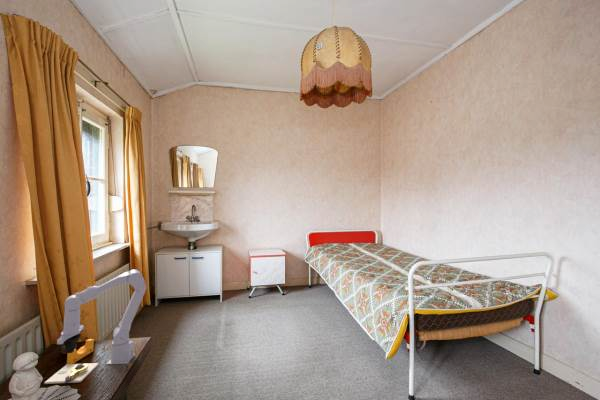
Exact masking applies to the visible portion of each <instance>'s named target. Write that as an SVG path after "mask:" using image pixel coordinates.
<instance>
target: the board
mask: <svg viewBox="0 0 600 400" xmlns="http://www.w3.org/2000/svg"><path fill="white" fill-rule="evenodd" d="M83 364H84V363H73V364H67V363H66V364H65V365H64V366H63V367H62V368H61V369H59V370H58V371H57V372H55V373H54V374H53V375H52V376H50V377H49V378H48V379H47V380H46V381H44V385H48V384H49V385H50V384H53V385H54V384H66V383H65V378H66V377H67V376H69V375H70V374H71V369H72V368H73V367H74V366H76V365H77V370H78V369H82V368H83ZM86 364H88V369H87V370H86V371H85V372H84V373H81V374H78V375H76V376H75V377H74V378H73V379H72V381H70V382H68V383H67V384H70V383H71V384H72V383H73V384H74V383H82V382H83V380H85V379H86V378H87V377H88V376H89V375H90V374H91V373H93V371H94V370H95V369H96V368H97V367H98V366H99V365H100V363H99V362H93V363H91V362H89V363H86Z"/></svg>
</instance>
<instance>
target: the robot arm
mask: <svg viewBox="0 0 600 400" xmlns="http://www.w3.org/2000/svg"><path fill="white" fill-rule="evenodd" d="M128 284H129V285H130V286H132V287H133V289H134V291H133V293H132V295H131V297H130V300H129V302H128V305H127V307H126V309H125V312H124V314H123V316H122V318H121V320H120V321H119V323H118V325H117V326H115V328H114V329H113V331H112V335H113V340H112V342H111V348H110V349H111V352H110V359H109V360H108V361H107V362H106V365H125V364H126V365H127V364H129V362H130V361H131V360H132V359H133V358H134V357H135V356H136V355H135V348H136V345H135V341H134V340H130V331H131V327H132V323H133V322H134V318H135V316H136V313H137V311H138V310H139V307H140V304H141V302H142V300H143V297H144V296H145V293H146V290H147V286H146V282H145V278H144V277H143V274H142V273H141V272H140V270H138V269H134V268H133V269H131V270H129V271H125V272H122V274H121V273H120V274H119V275H117V276H116V277H114V278H113V277H112V279H110V280H108V281H106V282H103V284H100V285H93V286H91V285H90V286H87V288H86V289H84V290H82V291H80V292H78V291H77V292H76V293H74V294H72V295H69V296H68V297H67V298H66V299H65V301H64V314H63V315H64V316H63V323H64V329H63V328H62V331H61V333H60V337H59V338H58V339H57V340H56V341H57V342H56V345H62V344H64V346H65V348H66V352H67V353H66V354H68V353H72V352H74V349H75V346H76V343H77V344H78V340H79V339H80V337H81V336H82V334H81V333H80V332H82V331H83V330H85V325H84V324H81V305H84V304H85V305H86V304H87V303H88V302H90V301H92V300H94V299H96V298H99V297H100V296H101V294H102V293H103V292H105V291H107V290H110V289H112V288H115V287H116V286H119V285H128Z"/></svg>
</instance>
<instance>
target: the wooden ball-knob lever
mask: <svg viewBox="0 0 600 400" xmlns="http://www.w3.org/2000/svg"><path fill="white" fill-rule="evenodd" d="M82 364H83V368H82V369H78V370H77V365H76V366H74V367H73V368H72V369H71V374H70V375H69V376H67V377H66V378H65V383H64V384H69V383H68V382H70V381H72V379H73V378H74V377H75V376H76V375H78V374H81V373H84V372H85V371H86V370H87V369H88V364H87V363H82Z"/></svg>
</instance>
